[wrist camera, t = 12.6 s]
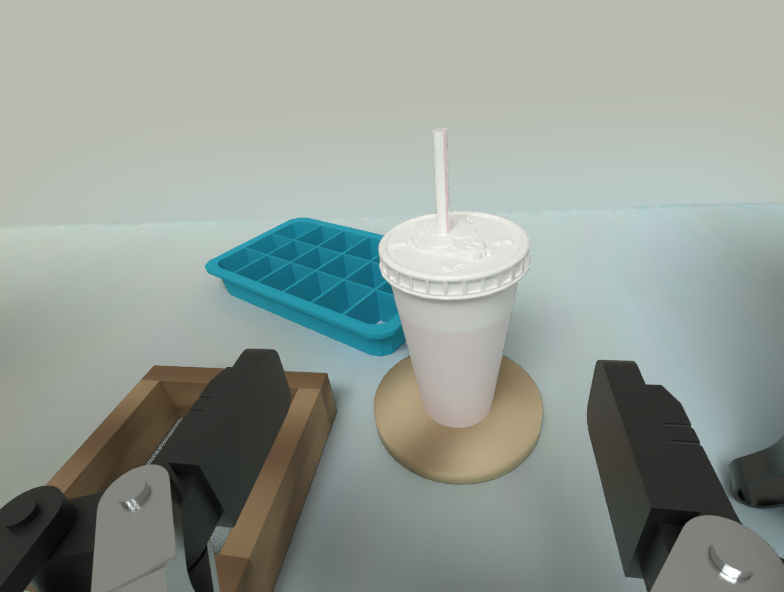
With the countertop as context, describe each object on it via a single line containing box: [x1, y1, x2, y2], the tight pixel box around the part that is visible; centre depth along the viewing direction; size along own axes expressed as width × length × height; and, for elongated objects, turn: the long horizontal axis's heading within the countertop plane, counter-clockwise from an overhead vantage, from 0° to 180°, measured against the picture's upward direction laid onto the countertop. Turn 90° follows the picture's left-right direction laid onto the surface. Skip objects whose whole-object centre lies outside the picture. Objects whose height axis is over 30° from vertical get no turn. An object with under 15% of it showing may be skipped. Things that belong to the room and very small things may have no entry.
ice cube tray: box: [205, 218, 406, 356], centre depth 36 cm, size 12×20×3 cm, turn 53°
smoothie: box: [379, 128, 531, 428], centre depth 20 cm, size 6×6×14 cm
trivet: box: [374, 355, 543, 484], centre depth 24 cm, size 9×9×1 cm
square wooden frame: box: [25, 365, 337, 592], centre depth 21 cm, size 11×11×3 cm
